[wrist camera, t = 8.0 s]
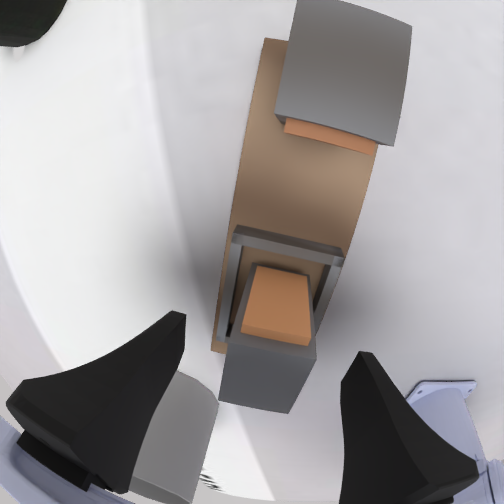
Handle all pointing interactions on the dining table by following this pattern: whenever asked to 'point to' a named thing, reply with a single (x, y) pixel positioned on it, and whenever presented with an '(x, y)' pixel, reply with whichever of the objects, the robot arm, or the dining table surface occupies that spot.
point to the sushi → (26, 20)
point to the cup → (176, 442)
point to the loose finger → (270, 341)
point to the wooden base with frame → (312, 148)
